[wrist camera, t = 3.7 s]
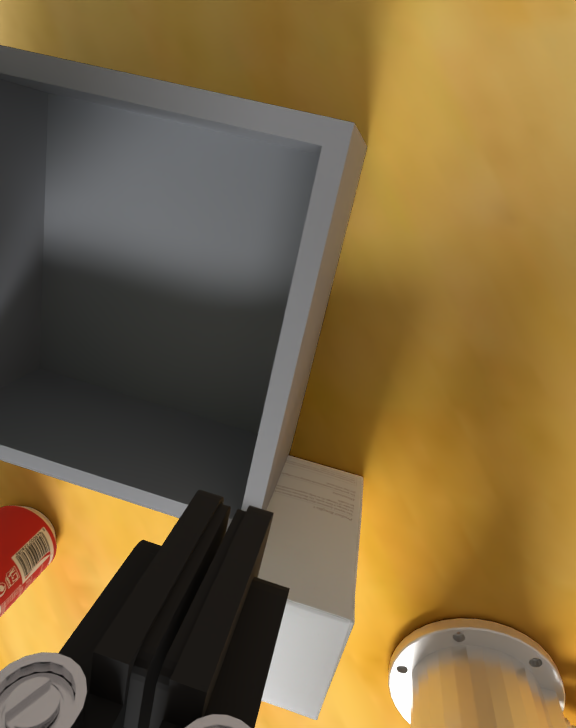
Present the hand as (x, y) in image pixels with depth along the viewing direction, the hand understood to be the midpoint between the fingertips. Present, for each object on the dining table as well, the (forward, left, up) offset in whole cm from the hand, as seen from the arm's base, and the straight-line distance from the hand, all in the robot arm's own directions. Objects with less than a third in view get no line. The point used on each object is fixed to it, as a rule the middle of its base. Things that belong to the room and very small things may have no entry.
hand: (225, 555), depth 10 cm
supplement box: (-1, +14, -22) cm, 26 cm away
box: (+11, 0, -22) cm, 25 cm away
